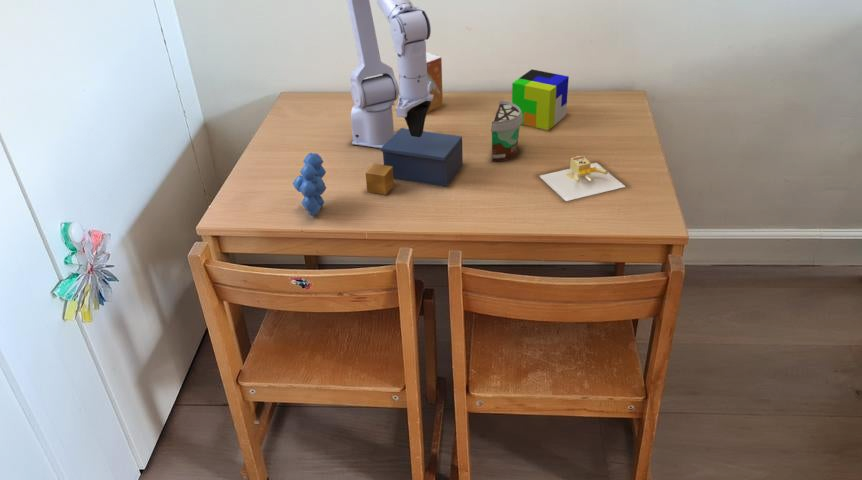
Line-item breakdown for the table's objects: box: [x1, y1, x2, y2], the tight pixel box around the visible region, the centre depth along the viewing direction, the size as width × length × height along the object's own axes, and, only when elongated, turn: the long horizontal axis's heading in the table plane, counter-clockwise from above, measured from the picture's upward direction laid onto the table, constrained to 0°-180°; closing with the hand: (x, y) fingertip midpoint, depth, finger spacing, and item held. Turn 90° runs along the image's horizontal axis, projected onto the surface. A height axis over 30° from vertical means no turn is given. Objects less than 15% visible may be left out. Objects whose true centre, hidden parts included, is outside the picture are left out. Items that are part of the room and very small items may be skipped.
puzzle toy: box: [511, 69, 569, 131], centre depth 187 cm, size 10×10×10 cm
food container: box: [490, 100, 523, 162], centre depth 172 cm, size 12×6×10 cm, turn 169°
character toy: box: [568, 154, 609, 183], centre depth 163 cm, size 8×3×8 cm
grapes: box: [291, 152, 327, 217], centre depth 154 cm, size 12×7×12 cm, turn 174°
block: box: [365, 163, 395, 196], centre depth 162 cm, size 4×4×5 cm
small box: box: [426, 51, 444, 113], centre depth 193 cm, size 8×6×13 cm
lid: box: [380, 127, 463, 161], centre depth 165 cm, size 11×15×1 cm
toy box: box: [382, 140, 464, 188], centre depth 168 cm, size 10×15×6 cm
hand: (416, 135), depth 162 cm, fingers closed
